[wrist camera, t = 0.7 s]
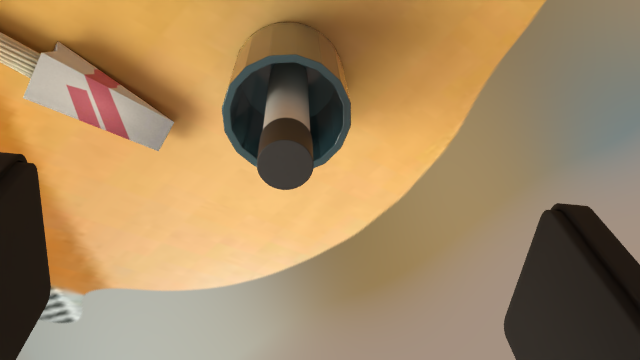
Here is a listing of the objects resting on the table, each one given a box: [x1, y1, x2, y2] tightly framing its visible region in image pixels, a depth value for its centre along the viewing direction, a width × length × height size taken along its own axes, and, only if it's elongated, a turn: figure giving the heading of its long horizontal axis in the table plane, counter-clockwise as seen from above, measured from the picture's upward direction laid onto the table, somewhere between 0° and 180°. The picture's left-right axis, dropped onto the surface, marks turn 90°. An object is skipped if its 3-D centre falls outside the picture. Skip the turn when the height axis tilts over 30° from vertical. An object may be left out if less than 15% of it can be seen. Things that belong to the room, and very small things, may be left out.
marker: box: [257, 62, 314, 190], centre depth 37 cm, size 3×3×14 cm
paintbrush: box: [0, 32, 174, 151], centre depth 41 cm, size 4×3×20 cm
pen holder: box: [222, 22, 351, 168], centre depth 40 cm, size 8×8×8 cm
